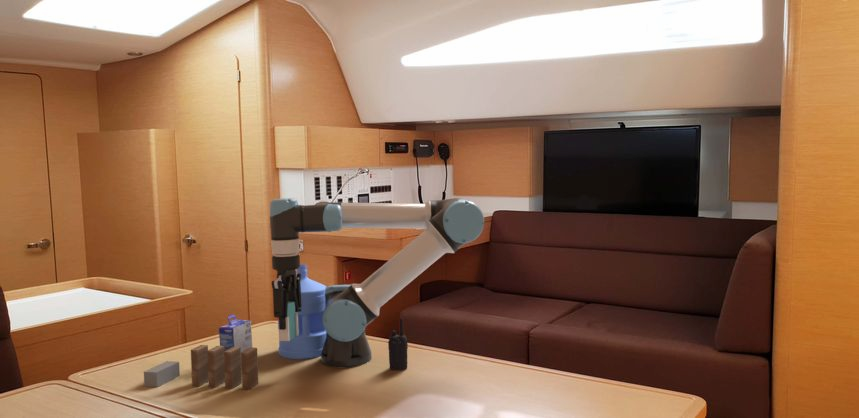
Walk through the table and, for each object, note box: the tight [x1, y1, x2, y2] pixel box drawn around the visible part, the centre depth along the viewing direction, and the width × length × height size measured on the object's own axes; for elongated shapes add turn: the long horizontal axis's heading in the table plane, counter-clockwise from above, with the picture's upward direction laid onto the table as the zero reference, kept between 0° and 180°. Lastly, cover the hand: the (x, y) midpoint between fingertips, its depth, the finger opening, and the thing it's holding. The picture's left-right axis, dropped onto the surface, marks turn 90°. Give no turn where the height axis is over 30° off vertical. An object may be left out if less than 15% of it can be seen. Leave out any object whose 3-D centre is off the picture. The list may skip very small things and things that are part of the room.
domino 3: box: [224, 347, 242, 390], centre depth 178 cm, size 2×5×10 cm, turn 166°
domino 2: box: [207, 345, 225, 389], centre depth 179 cm, size 2×5×10 cm, turn 166°
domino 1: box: [190, 344, 209, 388], centre depth 180 cm, size 2×5×10 cm, turn 166°
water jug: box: [277, 264, 327, 360], centre depth 207 cm, size 16×16×28 cm
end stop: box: [143, 360, 181, 388], centre depth 183 cm, size 4×10×4 cm, turn 166°
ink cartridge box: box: [218, 314, 253, 352], centre depth 198 cm, size 10×6×14 cm, turn 164°
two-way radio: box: [388, 317, 408, 371], centre depth 188 cm, size 6×4×15 cm
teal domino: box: [287, 301, 296, 340], centre depth 183 cm, size 2×5×10 cm, turn 166°
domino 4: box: [241, 347, 259, 391], centre depth 176 cm, size 2×5×10 cm, turn 166°
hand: (289, 337), depth 183 cm, fingers closed on teal domino, 5 cm apart
